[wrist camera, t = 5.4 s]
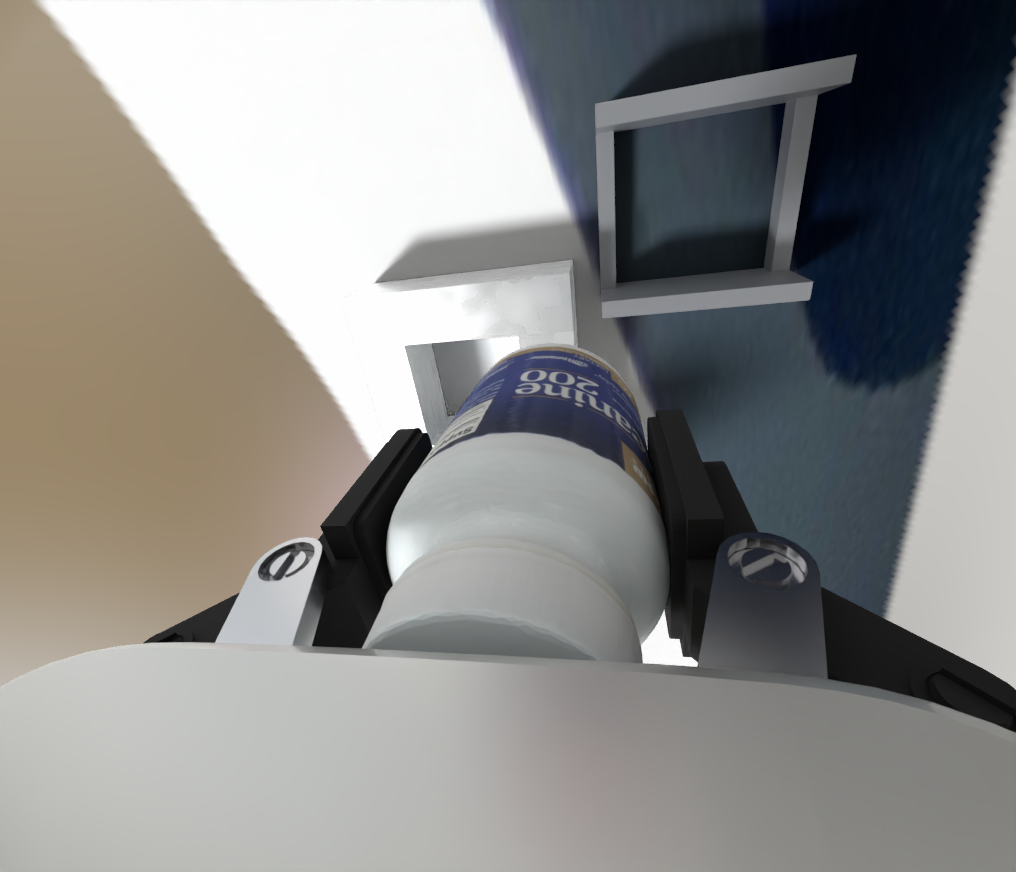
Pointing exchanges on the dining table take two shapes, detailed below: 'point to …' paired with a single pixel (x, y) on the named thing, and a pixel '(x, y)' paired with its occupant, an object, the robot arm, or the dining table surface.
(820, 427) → the dining table surface
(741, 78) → the grey open frame
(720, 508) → the robot arm
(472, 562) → the pill bottle
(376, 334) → the port
